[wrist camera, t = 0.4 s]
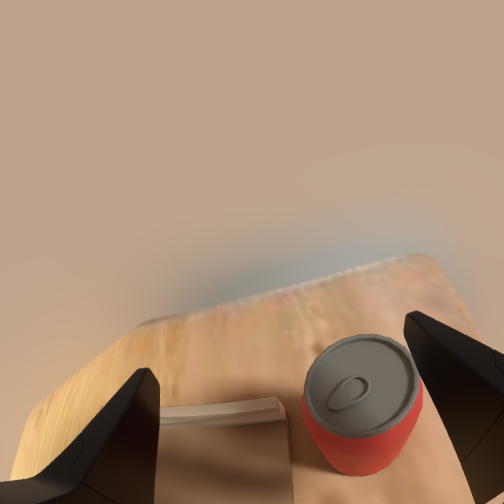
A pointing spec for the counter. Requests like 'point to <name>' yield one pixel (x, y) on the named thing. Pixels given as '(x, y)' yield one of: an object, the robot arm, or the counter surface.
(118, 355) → the counter surface
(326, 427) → the beer can
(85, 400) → the counter surface
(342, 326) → the counter surface
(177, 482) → the grey tray
